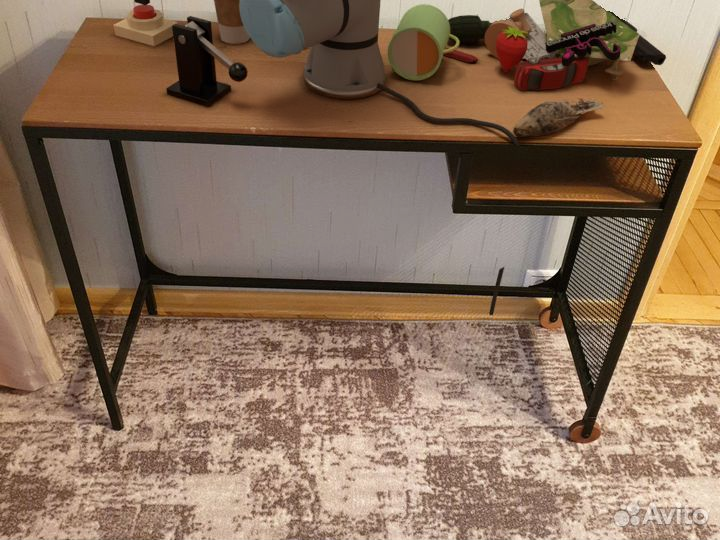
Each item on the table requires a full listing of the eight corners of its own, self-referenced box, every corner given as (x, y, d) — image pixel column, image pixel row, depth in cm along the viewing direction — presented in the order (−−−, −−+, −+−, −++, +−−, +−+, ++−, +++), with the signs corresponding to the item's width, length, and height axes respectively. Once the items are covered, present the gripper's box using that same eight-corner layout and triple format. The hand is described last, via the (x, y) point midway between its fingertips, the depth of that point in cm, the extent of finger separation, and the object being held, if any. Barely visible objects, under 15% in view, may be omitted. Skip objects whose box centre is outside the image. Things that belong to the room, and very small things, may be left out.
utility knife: (474, 64, 143) (478, 61, 145) (475, 59, 143) (479, 56, 144) (422, 49, 148) (427, 46, 149) (423, 44, 147) (427, 41, 148)
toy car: (516, 54, 135) (527, 67, 131) (586, 53, 139) (599, 65, 135) (508, 80, 138) (519, 94, 135) (577, 79, 142) (589, 92, 139)
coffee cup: (207, 43, 145) (200, -34, 136) (223, 27, 152) (217, -47, 142) (247, 49, 144) (242, -28, 134) (261, 32, 150) (258, -42, 141)
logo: (611, 18, 137) (635, 46, 130) (610, 25, 138) (634, 54, 132) (543, 39, 137) (564, 69, 131) (543, 47, 138) (564, 76, 132)
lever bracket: (231, 91, 131) (226, 22, 122) (208, 107, 126) (201, 36, 117) (190, 79, 134) (182, 10, 125) (166, 94, 129) (156, 24, 120)
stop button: (159, 15, 146) (158, 7, 145) (146, 22, 143) (145, 13, 142) (143, 11, 147) (142, 2, 146) (130, 17, 144) (128, 9, 143)
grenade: (442, 43, 152) (497, 45, 154) (448, 42, 146) (506, 43, 148) (443, 15, 151) (499, 17, 152) (450, 13, 145) (508, 14, 146)
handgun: (696, 73, 150) (640, 66, 144) (621, 17, 170) (569, 8, 164) (705, 57, 148) (648, 49, 142) (628, 2, 168) (576, -7, 162)
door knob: (499, 6, 149) (515, 41, 153) (478, 29, 144) (494, 64, 147) (533, -6, 143) (548, 30, 147) (511, 18, 138) (528, 54, 142)
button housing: (179, 32, 149) (177, 13, 146) (154, 46, 143) (151, 27, 141) (141, 22, 152) (138, 3, 149) (115, 35, 146) (111, 16, 144)
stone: (572, 51, 143) (524, 62, 142) (570, 66, 146) (523, 77, 145) (527, 4, 158) (484, 14, 157) (526, 19, 161) (484, 28, 160)
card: (551, -15, 154) (551, -18, 153) (671, 2, 141) (671, -3, 140) (502, 47, 144) (501, 43, 143) (625, 70, 131) (625, 66, 131)
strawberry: (515, 62, 145) (524, 13, 138) (526, 79, 139) (537, 29, 133) (486, 62, 144) (495, 13, 137) (497, 80, 138) (506, 29, 132)
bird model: (503, 106, 120) (497, 132, 123) (529, 121, 117) (523, 148, 120) (585, 80, 130) (577, 105, 134) (611, 93, 127) (603, 119, 130)
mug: (399, 55, 146) (387, 80, 137) (399, 3, 140) (387, 26, 131) (461, 58, 144) (454, 84, 135) (464, 6, 137) (456, 29, 128)
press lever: (247, 81, 125) (253, 68, 123) (236, 88, 123) (243, 75, 121) (189, 32, 125) (195, 17, 122) (178, 38, 123) (183, 24, 120)
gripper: (130, -140, 133) (148, -12, 149) (79, -127, 125) (104, 9, 140) (162, -134, 131) (178, -4, 147) (113, -119, 122) (135, 17, 138)
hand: (142, 2), depth 143 cm, fingers closed
